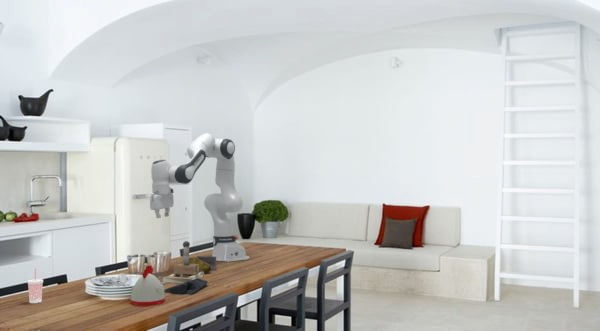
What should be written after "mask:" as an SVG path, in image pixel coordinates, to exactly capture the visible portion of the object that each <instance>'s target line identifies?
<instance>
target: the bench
mask: <svg viewBox="0 0 600 331" xmlns="http://www.w3.org/2000/svg"><path fill="white" fill-rule="evenodd" d="M196 258H198V259H200V260H202V261H204V262H206V263H207V264H209V265H210V266H211V271H217V261H216V257H214V256H212V255H208V256H207V255H198V256H197V257H196ZM204 275H205V273H204V272H199V273H197V274H195V275H193V276H187V277H184V276H183V274H174V273H172V274H170V275H168V276H163V277H162V282H163V281H164V282H166V283H167V284H168V283H169V284H170V283H171V284H182V283H185V282H187V281H190V280H194V279H197V278H198V279H203V278H204V277H205V276H204ZM164 282H163V283H164Z"/></svg>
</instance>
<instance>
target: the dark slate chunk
mask: <svg viewBox="0 0 600 331" xmlns="http://www.w3.org/2000/svg"><path fill="white" fill-rule="evenodd" d="M207 285H208V280H205V279H202V278H200V279H198V278H197V279H194V280H190V281H187V282H185V283H178V284H176V285H174V286H171V287H168V288H165V289H164V294H173V295H194V294H195V293H197V292H199V291H200V290H202V289H204V287H205V286H207Z"/></svg>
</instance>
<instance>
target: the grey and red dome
mask: <svg viewBox="0 0 600 331" xmlns="http://www.w3.org/2000/svg"><path fill="white" fill-rule="evenodd" d="M153 272H154V267H153V266H152V265H147V266H145V269H143V273H141V276H139V278H138V279H137V280H136V281H135V283H134V285H132V286H131V295H130V304H131V305H133V306H139V307H146V306H147V307H149V306H158V305H161V304H163V303H165V301H166V296H165V294H166V293H165V292H164V290H165V286H164V284H162V282H160V280H159V279H158V278H157V276H156V275H154V274H153Z"/></svg>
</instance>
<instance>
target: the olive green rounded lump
mask: <svg viewBox="0 0 600 331" xmlns="http://www.w3.org/2000/svg"><path fill="white" fill-rule="evenodd" d="M189 264H199V272H204V274H209V272H211V271H212V270H211V266H210V265H209V264H207V263H206V262H204V261H202V260H200V259H198V258H197V257H195V256H193V257H189Z"/></svg>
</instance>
